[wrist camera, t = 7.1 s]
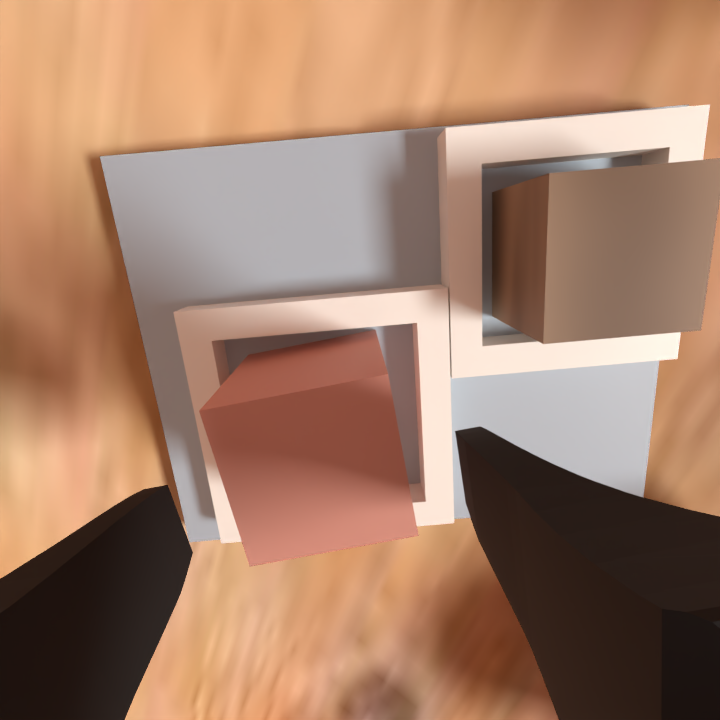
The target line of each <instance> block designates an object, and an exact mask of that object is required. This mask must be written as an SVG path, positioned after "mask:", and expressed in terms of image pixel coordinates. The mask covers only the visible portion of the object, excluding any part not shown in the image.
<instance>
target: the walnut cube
mask: <svg viewBox="0 0 720 720" xmlns="http://www.w3.org/2000/svg"><path fill="white" fill-rule="evenodd" d="M719 200H720V158H717V159H706V160H695V161H683V162H672V163H660V164H649V165H638V166H626V167H615V168H604V169H592V170H581V171H569V172H558V173H549V174H546V175H543V176H540V177H537V178H534V179H530V180H527V181H524V182H521V183H518V184H515V185H512V186H509V187H506V188H503V189H500V190H497V191H494V192H492V317H494V318H496V319H498V320H500V321H501V322H503V323H505V324H507V325H509V326H511V327H513V328H514V329H516V330H518V331H520V332H522V333H524V334H525V335H527V336H529V337H531V338H533V339H535V340H536V341H538V342H540V343H542V344H551V343H562V342H574V341H585V340H597V339H608V338H619V337H631V336H642V335H654V334H665V333H676V332H688V331H699V330H701V327H702V320H703V313H704V306H705V299H706V292H707V285H708V278H709V271H710V264H711V257H712V250H713V242H714V235H715V228H716V221H717V214H718V207H719Z"/></svg>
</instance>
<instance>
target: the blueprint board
mask: <svg viewBox="0 0 720 720" xmlns="http://www.w3.org/2000/svg"><path fill="white" fill-rule="evenodd" d="M709 108H710V105H700V106H689V105H680V106H669V107H657V108H646V109H634V110H623V111H612V112H600V113H589V114H578V115H566V116H555V117H543V118H532V119H521V120H509V121H498V122H487V123H475V124H464V125H452V126H441V127H430V128H418V129H407V130H395V131H384V132H373V133H361V134H350V135H339V136H327V137H316V138H304V139H293V140H282V141H270V142H259V143H248V144H236V145H225V146H213V147H202V148H191V149H179V150H168V151H157V152H145V153H134V154H122V155H111V156H100V160H101V164H102V168H103V173H104V177H105V181H106V185H107V190H108V194H109V198H110V203H111V207H112V211H113V216H114V220H115V224H116V228H117V233H118V237H119V241H120V246H121V250H122V254H123V259H124V263H125V267H126V271H127V276H128V280H129V284H130V289H131V293H132V297H133V302H134V306H135V310H136V314H137V319H138V323H139V327H140V332H141V336H142V340H143V345H144V349H145V353H146V357H147V362H148V366H149V370H150V375H151V379H152V383H153V388H154V392H155V396H156V400H157V405H158V409H159V413H160V418H161V422H162V426H163V430H164V435H165V439H166V443H167V448H168V452H169V456H170V461H171V465H172V469H173V473H174V478H175V482H176V486H177V491H178V495H179V499H180V504H181V508H182V512H183V516H184V521H185V525H186V529H187V534H188V538H189V542H197V541H208V540H220V539H221V543H232V542H242V541H241V538H240V535H239V531H238V528H237V525H236V522H235V519H234V516H233V513H232V510H231V507H230V504H229V501H228V498H227V495H226V492H225V489H224V486H223V483H222V480H221V476H220V473H219V470H218V467H217V464H216V461H215V458H214V455H213V452H212V449H211V446H210V443H209V440H208V437H207V434H206V431H205V428H204V425H203V422H202V418H201V415H200V412H199V410H200V409H201V408H202V407H203V406H204V405H205V403H206V402H207V401H208V400H209V399H210V398H211V397H212V396H213V394H214V393H215V392H216V391H217V390H218V389H219V388H220V386H221V385H222V384H223V383H224V382H225V381H226V380H227V378H228V377H229V376H230V375H231V374H232V373H233V372H234V370H235V369H236V368H237V367H238V366H239V365H240V364H241V362H242V361H243V360H244V359H245V358H246V357H247V356H248V355H249V354H254V353H259V352H264V351H270V350H275V349H280V348H285V347H290V346H295V345H300V344H305V343H310V342H315V341H320V340H325V339H330V338H335V337H340V336H345V335H350V334H355V333H360V332H365V331H370V330H376V333H377V337H378V340H379V344H380V347H381V351H382V354H383V358H384V361H385V365H386V368H387V372H388V376H389V381H390V387H391V392H392V397H393V403H394V408H395V413H396V419H397V424H398V429H399V435H400V440H401V445H402V451H403V456H404V461H405V466H406V472H407V477H408V482H409V488H410V493H411V498H412V504H413V509H414V514H415V520H416V525H417V526H426V525H438V524H449V523H454V519H460V518H471V517H470V514H469V511H468V508H467V506H466V502H465V495H464V488H463V482H462V475H461V468H460V461H459V454H458V448H457V441H456V434H455V431H458V430H463V429H468V428H474V427H479V426H481V427H483V428H485V429H487V430H489V431H491V432H493V433H494V434H496V435H498V436H500V437H502V438H503V439H505V440H507V441H509V442H511V443H513V444H514V445H516V446H518V447H520V448H522V449H524V450H526V451H528V452H530V453H532V454H534V455H536V456H538V457H540V458H542V459H544V460H546V461H548V462H550V463H552V464H554V465H557V466H559V467H561V468H564V469H566V470H568V471H570V472H573V473H575V474H577V475H580V476H582V477H585V478H587V479H590V480H593V481H595V482H598V483H601V484H604V485H607V486H610V487H613V488H615V489H618V490H621V491H624V492H627V493H630V494H633V495H637V496H640V497H643V496H644V488H645V479H646V470H647V462H648V453H649V444H650V436H651V427H652V419H653V410H654V401H655V393H656V384H657V375H658V367H659V360H670V359H677V358H678V350H679V342H680V334H681V332H676V333H665V334H654V335H642V336H631V337H619V338H608V339H597V340H585V341H574V342H562V343H551V344H542V343H540V342H538V341H536V340H535V339H533V338H531V337H529V336H527V335H525V334H524V333H522V332H520V331H518V330H516V329H514V328H513V327H511V326H509V325H507V324H505V323H503V322H501V321H500V320H498V319H496V318H494V317H492V192H494V191H497V190H500V189H503V188H506V187H509V186H512V185H515V184H518V183H521V182H524V181H527V180H530V179H534V178H537V177H540V176H543V175H546V174H549V173H558V172H569V171H581V170H592V169H604V168H615V167H626V166H638V165H649V164H660V163H672V162H683V161H695V160H703V155H704V147H705V139H706V131H707V123H708V116H709Z"/></svg>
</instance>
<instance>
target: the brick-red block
mask: <svg viewBox="0 0 720 720" xmlns="http://www.w3.org/2000/svg"><path fill="white" fill-rule="evenodd" d="M199 412H200V415H201V418H202V422H203V425H204V428H205V431H206V434H207V437H208V440H209V443H210V446H211V449H212V452H213V455H214V458H215V461H216V464H217V467H218V470H219V473H220V476H221V480H222V483H223V486H224V489H225V492H226V495H227V498H228V501H229V504H230V507H231V510H232V513H233V516H234V519H235V522H236V525H237V528H238V531H239V535H240V538H241V541H242V544H243V547H244V550H245V553H246V556H247V559H248V562H249V565H250V566H255V565H261V564H266V563H272V562H277V561H282V560H288V559H293V558H299V557H304V556H310V555H315V554H321V553H326V552H332V551H337V550H343V549H348V548H354V547H359V546H365V545H370V544H376V543H381V542H387V541H392V540H398V539H403V538H409V537H414V536H418V530H417V525H416V520H415V514H414V509H413V504H412V498H411V493H410V488H409V482H408V477H407V472H406V466H405V461H404V456H403V451H402V445H401V440H400V435H399V429H398V424H397V419H396V413H395V408H394V403H393V397H392V392H391V387H390V381H389V376H388V372H387V368H386V365H385V361H384V358H383V354H382V351H381V347H380V344H379V340H378V337H377V333H376V330H370V331H365V332H360V333H355V334H350V335H345V336H340V337H335V338H330V339H325V340H320V341H315V342H310V343H305V344H300V345H295V346H290V347H285V348H280V349H275V350H270V351H264V352H259V353H254V354H249V355H248V356H247V357H246V358H245V359H244V360H243V361H242V362H241V364H240V365H239V366H238V367H237V368H236V369H235V370H234V372H233V373H232V374H231V375H230V376H229V377H228V378H227V380H226V381H225V382H224V383H223V384H222V385H221V386H220V388H219V389H218V390H217V391H216V392H215V393H214V394H213V396H212V397H211V398H210V399H209V400H208V401H207V402H206V403H205V405H204V406H203V407H202V408H201V409H200V410H199Z"/></svg>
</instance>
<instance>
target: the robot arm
mask: <svg viewBox="0 0 720 720" xmlns="http://www.w3.org/2000/svg"><path fill="white" fill-rule="evenodd" d="M455 434H456V441H457V448H458V454H459V461H460V468H461V475H462V482H463V488H464V495H465V502H466V506H467V508H468V511H469V514H470V517H471V520H472V523H473V526H474V529H475V531H476V534H477V537H478V540H479V542H480V544H481V546H482V548H483V550H484V552H485V554H486V556H487V558H488V560H489V562H490V564H491V566H492V568H493V570H494V572H495V574H496V576H497V578H498V580H499V582H500V584H501V586H502V589H503V591H504V593H505V595H506V597H507V599H508V601H509V603H510V605H511V607H512V609H513V611H514V613H515V615H516V617H517V619H518V621H519V623H520V625H521V627H522V629H523V631H524V633H525V635H526V638H527V640H528V642H529V644H530V647H531V649H532V651H533V653H534V656H535V659H536V661H537V664H538V666H539V669H540V671H541V674H542V677H543V679H544V682H545V684H546V687H547V689H548V692H549V694H550V697H551V700H552V702H553V705H554V707H555V710H556V713H557V715H558V718H559V720H720V517H719V516H714V515H710V514H705V513H701V512H696V511H692V510H688V509H684V508H680V507H677V506H673V505H669V504H665V503H662V502H658V501H654V500H650V499H647V498H643V497H640V496H637V495H633V494H630V493H627V492H624V491H621V490H618V489H615V488H613V487H610V486H607V485H604V484H601V483H598V482H595V481H593V480H590V479H587V478H585V477H582V476H580V475H577V474H575V473H573V472H570V471H568V470H566V469H564V468H561V467H559V466H557V465H554V464H552V463H550V462H548V461H546V460H544V459H542V458H540V457H538V456H536V455H534V454H532V453H530V452H528V451H526V450H524V449H522V448H520V447H518V446H516V445H514V444H513V443H511V442H509V441H507V440H505V439H503V438H502V437H500V436H498V435H496V434H494V433H493V432H491V431H489V430H487V429H485V428H483V427H481V426H479V427H474V428H468V429H463V430H458V431H455ZM192 553H193V552H192V549H191V547H190V544H189V541H188V539H187V536H186V533H185V531H184V528H183V525H182V523H181V520H180V517H179V515H178V512H177V509H176V507H175V504H174V501H173V498H172V496H171V493H170V490H169V488H168V485H165V486H159V487H154V488H149V489H144V490H142V491H140V492H138V493H136V494H134V495H132V496H130V497H128V498H127V499H125V500H123V501H122V502H120V503H118V504H117V505H115V506H113V507H112V508H110V509H109V510H107V511H106V512H104V513H103V514H101V515H99V516H98V517H96V518H95V519H93V520H92V521H90V522H89V523H87V524H86V525H84V526H83V527H81V528H80V529H78V530H77V531H75V532H74V533H72V534H71V535H69V536H67V537H66V538H64V539H63V540H61V541H60V542H58V543H57V544H55V545H54V546H52V547H50V548H49V549H47V550H46V551H44V552H43V553H41V554H39V555H38V556H36V557H35V558H33V559H31V560H30V561H28V562H27V563H25V564H23V565H22V566H20V567H19V568H17V569H15V570H14V571H12V572H11V573H9V574H8V575H6V576H4V577H3V578H1V579H0V720H125V717H126V715H127V712H128V710H129V708H130V705H131V703H132V700H133V698H134V696H135V693H136V691H137V689H138V687H139V685H140V682H141V680H142V678H143V676H144V674H145V671H146V669H147V667H148V665H149V663H150V660H151V658H152V656H153V654H154V652H155V650H156V647H157V645H158V643H159V641H160V639H161V636H162V634H163V632H164V630H165V628H166V625H167V623H168V621H169V619H170V616H171V614H172V612H173V610H174V607H175V605H176V603H177V601H178V598H179V596H180V594H181V591H182V588H183V584H184V581H185V578H186V575H187V572H188V568H189V564H190V561H191V557H192Z"/></svg>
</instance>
